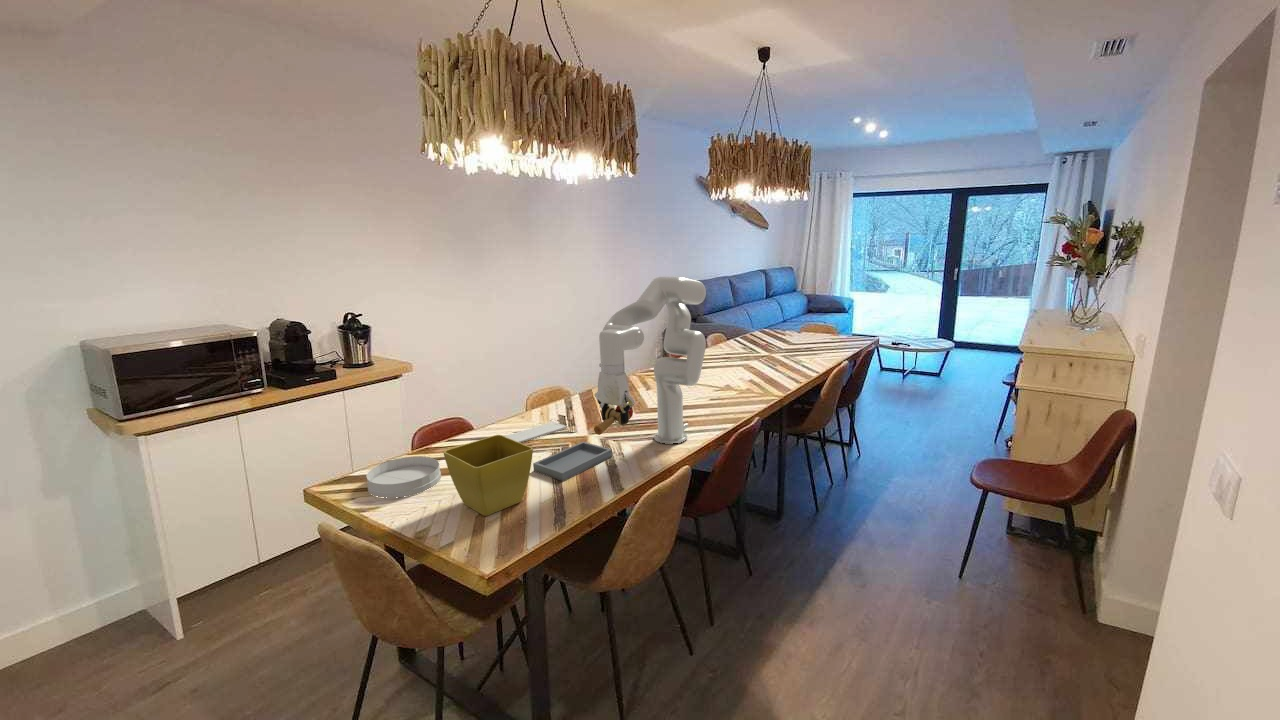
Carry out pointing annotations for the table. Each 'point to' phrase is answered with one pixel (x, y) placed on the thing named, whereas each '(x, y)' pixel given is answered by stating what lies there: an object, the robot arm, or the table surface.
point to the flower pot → (490, 472)
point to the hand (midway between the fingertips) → (615, 420)
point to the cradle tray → (572, 460)
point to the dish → (403, 477)
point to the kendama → (611, 419)
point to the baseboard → (536, 431)
